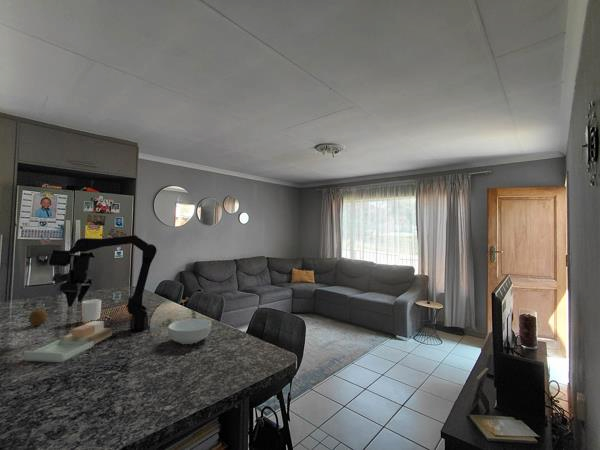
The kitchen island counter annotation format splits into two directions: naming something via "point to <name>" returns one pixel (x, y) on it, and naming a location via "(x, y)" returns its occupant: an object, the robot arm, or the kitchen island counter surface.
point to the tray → (57, 351)
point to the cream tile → (96, 325)
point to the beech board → (91, 336)
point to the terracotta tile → (82, 331)
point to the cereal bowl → (189, 330)
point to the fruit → (37, 317)
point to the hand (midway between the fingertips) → (74, 304)
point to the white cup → (91, 309)
